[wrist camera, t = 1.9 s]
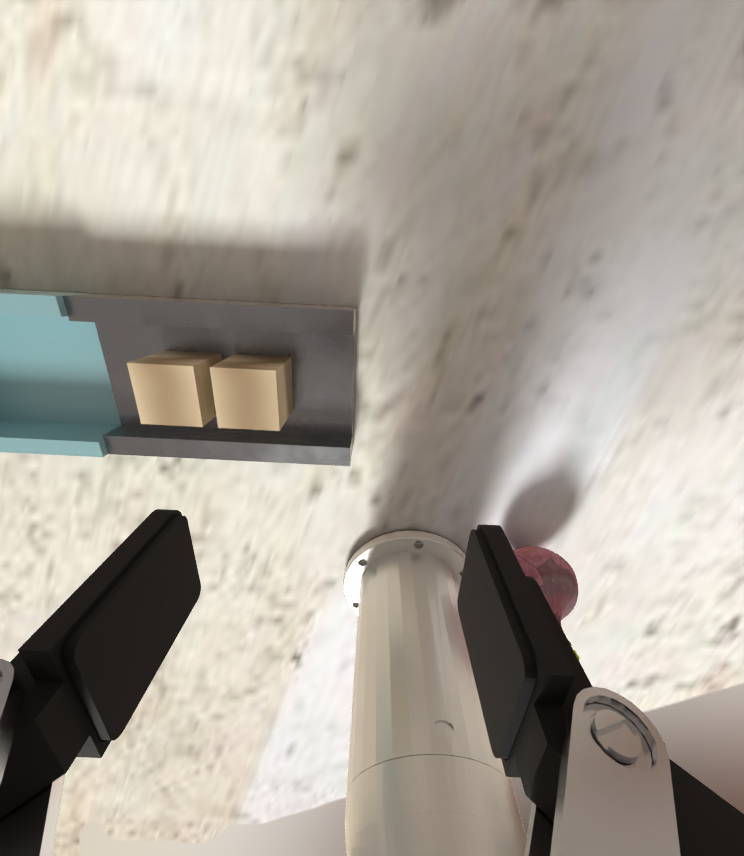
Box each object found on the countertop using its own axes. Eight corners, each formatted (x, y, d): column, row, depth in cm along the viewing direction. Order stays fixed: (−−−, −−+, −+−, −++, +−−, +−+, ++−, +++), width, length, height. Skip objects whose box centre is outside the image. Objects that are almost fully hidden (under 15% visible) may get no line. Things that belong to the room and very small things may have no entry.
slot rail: (356, 307, 24) (353, 310, 21) (352, 448, 28) (349, 465, 26) (98, 293, 24) (62, 295, 21) (134, 436, 28) (108, 453, 26)
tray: (98, 293, 24) (55, 296, 21) (134, 436, 28) (103, 457, 25) (-75, 284, 24) (-145, 285, 21) (-12, 429, 28) (-62, 448, 25)
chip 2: (291, 357, 24) (275, 370, 21) (293, 409, 26) (279, 431, 22) (234, 354, 24) (209, 367, 21) (240, 406, 26) (218, 428, 22)
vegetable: (480, 574, 34) (518, 684, 25) (492, 523, 31) (540, 624, 22) (542, 577, 34) (603, 689, 25) (559, 527, 31) (634, 629, 22)
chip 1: (220, 353, 24) (192, 366, 21) (227, 406, 26) (202, 426, 22) (164, 350, 24) (126, 362, 21) (174, 403, 26) (141, 423, 22)
